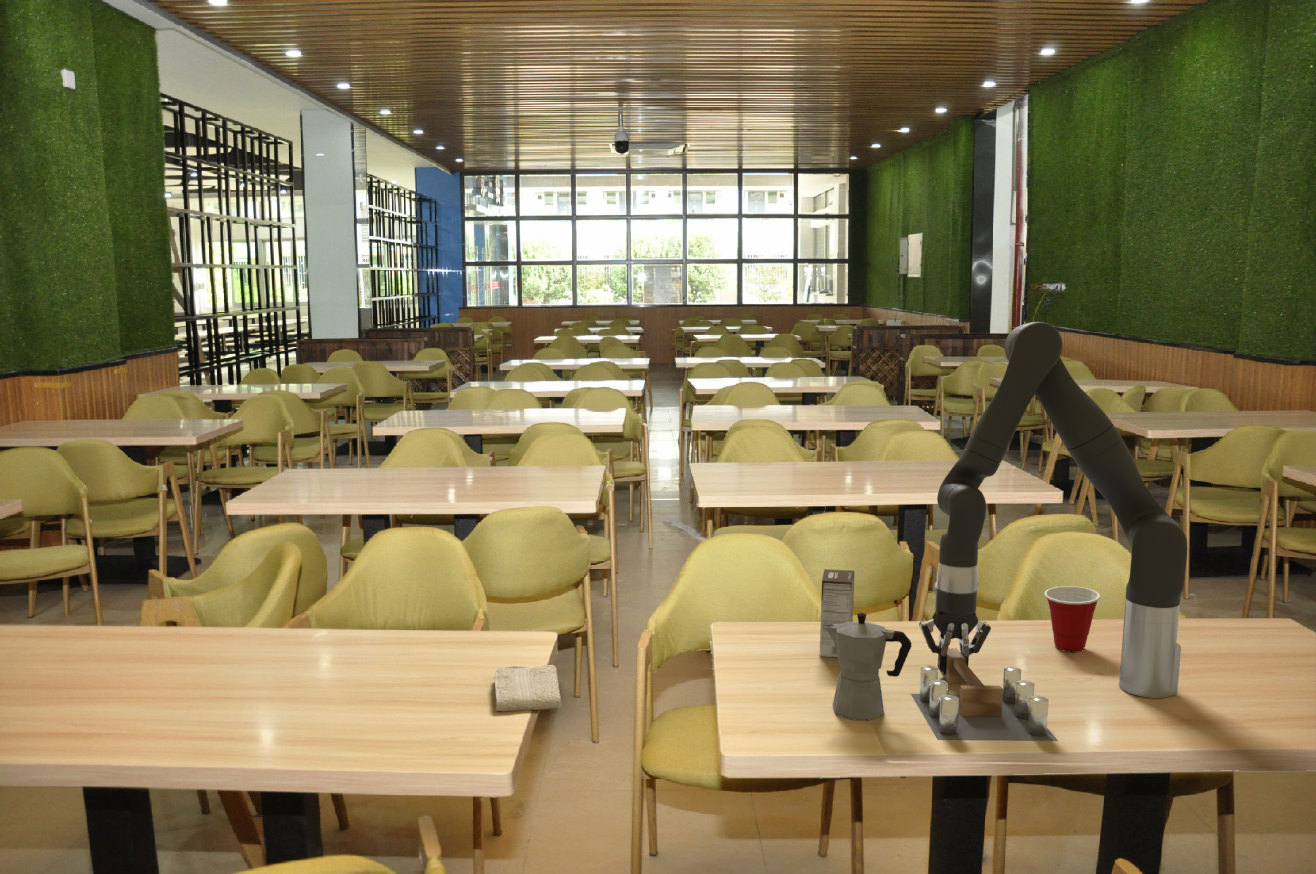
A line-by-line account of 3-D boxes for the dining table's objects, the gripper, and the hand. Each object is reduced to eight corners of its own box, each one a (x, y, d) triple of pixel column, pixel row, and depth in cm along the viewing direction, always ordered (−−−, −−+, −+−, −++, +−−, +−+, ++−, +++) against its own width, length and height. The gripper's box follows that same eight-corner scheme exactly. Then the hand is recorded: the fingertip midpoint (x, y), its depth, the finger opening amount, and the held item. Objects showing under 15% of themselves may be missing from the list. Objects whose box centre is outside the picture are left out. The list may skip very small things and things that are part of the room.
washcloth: (556, 675, 210) (555, 660, 210) (563, 711, 192) (563, 695, 192) (493, 678, 208) (493, 663, 208) (495, 716, 190) (495, 699, 190)
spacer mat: (1019, 696, 200) (1019, 694, 200) (1058, 742, 180) (1058, 740, 180) (910, 695, 200) (910, 693, 200) (937, 741, 180) (937, 739, 180)
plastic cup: (1030, 642, 230) (1033, 587, 229) (1072, 637, 234) (1076, 583, 232) (1063, 659, 220) (1067, 601, 218) (1107, 654, 223) (1111, 597, 222)
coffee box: (821, 642, 229) (823, 568, 227) (852, 644, 228) (854, 570, 225) (818, 656, 220) (821, 579, 218) (851, 659, 219) (853, 582, 217)
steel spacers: (1016, 697, 199) (1018, 666, 198) (1049, 736, 182) (1051, 702, 181) (917, 696, 199) (919, 665, 198) (941, 735, 182) (943, 701, 181)
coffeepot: (814, 714, 191) (817, 615, 189) (829, 695, 200) (832, 601, 197) (902, 729, 185) (906, 627, 182) (913, 710, 193) (917, 612, 191)
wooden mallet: (965, 673, 212) (967, 648, 211) (1001, 716, 190) (1002, 688, 189) (930, 673, 212) (931, 648, 211) (961, 716, 190) (962, 688, 189)
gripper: (987, 581, 210) (982, 666, 212) (915, 580, 210) (911, 666, 212) (999, 592, 202) (994, 680, 205) (924, 591, 202) (920, 680, 205)
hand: (952, 672), depth 209 cm, fingers closed on wooden mallet, 3 cm apart
